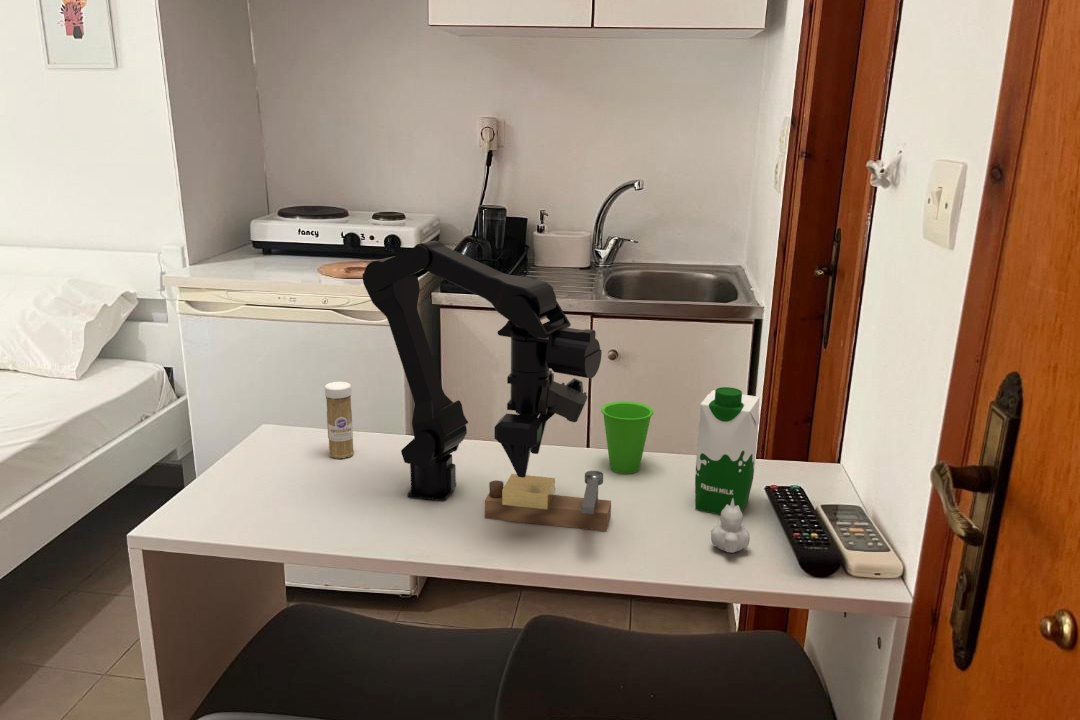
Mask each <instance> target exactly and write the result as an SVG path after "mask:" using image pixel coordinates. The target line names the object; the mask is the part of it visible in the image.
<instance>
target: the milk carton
mask: <svg viewBox="0 0 1080 720" xmlns="http://www.w3.org/2000/svg"><path fill="white" fill-rule="evenodd" d="M699 406H700V407H699V420H698V421H699V422H698V433H697V444H696V445H697V446H696V447H697V449H696V462H695V473H694V475H695V476H694V477H695V478H694V488H695V489H694V493H695V494H694V495H695V496H694V497H695V500H694V503H695V510H697V511H701V512H707V513H712V514H716V515H720V516H721V512H722V510H723V509H724V508H725V506H726V505H727V504H728V505H729V506H730V504H731V501H732V499H733V500H734V505H735V506H737V505H738V506H739V508H740V510H741V512H742V513H743V511H744V509H745V507H746V505H747V504H748V502H749V498H750V493H751V489H752V486H753V480H754V475H755V465H756V454H757V442H758V433H759V431H758V430H759V424H760V414H759V413H760V412H759V410H760V409H759V408H760V396H756V395H755V396H754V395H749V394H743V392H742V390H740V389H739V388H735V387H730V386H727V387H725V386H723V387H718V388H716V389H714V390H711V392H710V393H708V394H706V396H705V398H704V399H703V400H702V401H701V402H700V405H699Z"/></svg>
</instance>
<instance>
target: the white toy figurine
mask: <svg viewBox="0 0 1080 720" xmlns="http://www.w3.org/2000/svg"><path fill="white" fill-rule="evenodd" d="M743 518H744V514H743V511H742V512H741V510H740V508H739V506H738V505H737V506H735V505H734V500H733V499H732V501H731V504H730V506H729V505H728V504H727V505H726V506H725V508H724V509H723V510H722V512H721V515H720V521H719V522H718V523H717V524H716V525H715V526H713V527H712V529H711V530H710V539H711V543H712V545H713V547H714V546H715V547H717V548H718V549H719V550H721V551H724V552H727V553H735V552H739V551H742V550H743V549H744V550H745V549H747V547H749V544H750V539H751V537H750V532H749V531H748V529H747V528H746V527H744V526H743Z"/></svg>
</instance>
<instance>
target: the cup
mask: <svg viewBox="0 0 1080 720" xmlns="http://www.w3.org/2000/svg"><path fill="white" fill-rule="evenodd" d="M600 412H601V414H603V421H604V431H605V435H606V436H605V437H606V446H607V452H608V461H609V466H610V469H611V470H612V472H615V473H617V474H622V475H632V474H635V473H637V472H638V471H639V469H640V468H641V463H642V458H643V455H644V450H645V444H646V439H647V435H648V431H649V426H650V423H651V422H650V421H651V417H652V416H653V415H654V410H653V408H652V407H651V406H649V405H646V404H644V403H640V402H635V401H614V402H608V403H606V404H605V405H603V406H602V407H601V409H600Z"/></svg>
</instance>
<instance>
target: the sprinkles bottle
mask: <svg viewBox="0 0 1080 720" xmlns="http://www.w3.org/2000/svg"><path fill="white" fill-rule="evenodd" d="M351 385H352V384H351V383H349V382H346V381H333V382H329V383H327V384H325V386H324V396H325V400H326V421H327V422H326V423H327V424H326V425H327V438H328V448H329V451H328V456H330V457H331V458H332V457H333V458H332V459H337V458H343V459H347V458H346V457H348V458H350V457H352V456H353V455H354V453H355V451H354V431H353V428H354V426H353V412H352V400H351V399H352V397H351V396H352V386H351Z"/></svg>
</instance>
